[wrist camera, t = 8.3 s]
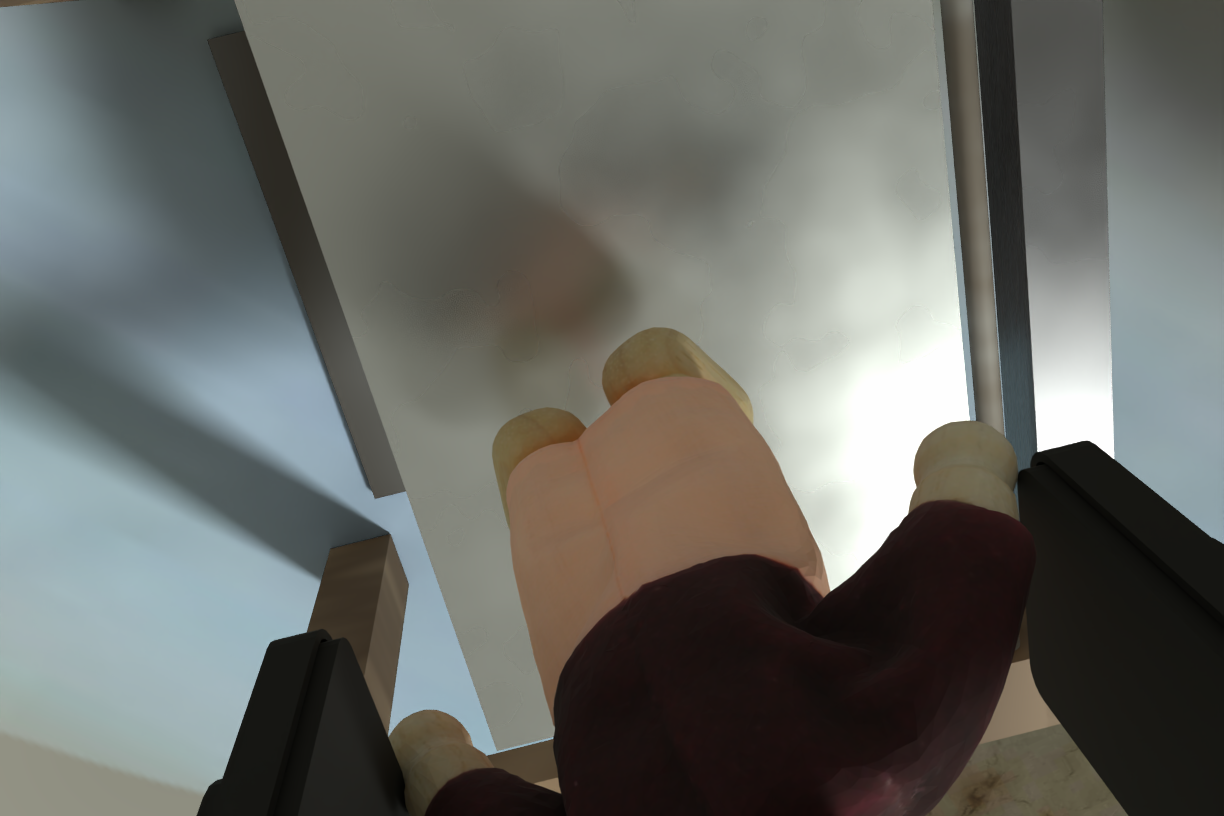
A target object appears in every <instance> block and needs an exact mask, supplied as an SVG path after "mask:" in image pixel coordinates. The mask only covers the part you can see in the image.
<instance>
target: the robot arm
mask: <svg viewBox="0 0 1224 816" xmlns="http://www.w3.org/2000/svg"><path fill="white" fill-rule="evenodd" d="M1017 489H1018V504H1019V518H1020V522H1021V523H1022V524H1023V525H1024V526H1025V527H1026V528H1027V529H1028V531H1029V532H1030V533H1031V534H1032V536H1033V539H1034V543H1035V548H1036V552H1037V556H1036V564H1035V570H1034V573H1033V576H1032V580H1031V585H1030V590H1029V596H1028V600H1027V604H1026V617H1027V631H1028V645H1029V659H1030V668H1031V673H1032V676H1033V680H1034V682H1035V685H1036V688H1037V690H1038V692H1039V694H1040V695H1041V697H1042V699H1043V700H1044V702H1045V703H1046V704H1047V706H1048V707H1049V708H1050V710H1051V711H1052V713H1053V714H1054V715H1055V717H1056V718H1057V719H1058V721H1059V722H1060V723H1061V725H1062V726H1063V728H1064V729H1065V730H1066V732H1067V733H1068V734H1069V736H1070V737H1071V738H1072V740H1073V741H1074V742H1075V744H1076V745H1077V747H1078V748H1079V749H1080V751H1081V752H1082V753H1083V755H1084V756H1085V757H1086V759H1087V760H1088V761H1089V763H1090V764H1091V766H1092V767H1093V768H1094V770H1095V771H1096V772H1097V774H1098V775H1099V776H1100V778H1101V779H1102V781H1103V782H1104V783H1105V785H1106V786H1107V787H1108V789H1109V790H1110V791H1111V793H1112V794H1113V795H1114V797H1115V798H1116V800H1117V801H1118V802H1119V804H1120V805H1121V806H1122V808H1123V809H1124V810H1125V812H1126V813H1127V815H1128V816H1224V544H1223V543H1221V542H1219V541H1217V540H1216V539H1214V538H1211V537H1210V536H1209V535H1207V534H1206V533H1205V532H1204V531H1202V530H1201V529H1200V528H1199V527H1197V526H1196V525H1195V524H1194V523H1193V522H1191V521H1190V520H1189V519H1188V518H1186V517H1185V516H1184V515H1183V514H1181V513H1180V512H1179V511H1178V510H1176V509H1175V508H1174V507H1173V506H1171V505H1170V504H1169V503H1168V502H1167V501H1165V500H1164V499H1163V498H1162V497H1160V496H1159V495H1158V494H1157V493H1155V492H1154V491H1153V490H1152V489H1150V488H1149V487H1148V486H1147V485H1146V484H1144V483H1143V482H1142V481H1141V480H1139V479H1138V478H1137V477H1136V476H1134V475H1133V474H1132V473H1131V472H1129V471H1128V470H1127V469H1126V468H1124V467H1123V466H1122V465H1121V464H1120V463H1118V462H1117V461H1116V460H1115V459H1113V458H1112V457H1111V456H1110V455H1108V454H1107V453H1106V452H1105V451H1103V450H1102V449H1101V448H1100V447H1098V446H1097V445H1096V444H1095V443H1093V442H1091V441H1089V440H1086V441H1080V442H1076V443H1072V444H1068V445H1064V446H1060V447H1055V448H1051V449H1047V450H1043V451H1039V452H1036V453H1035V454H1034V455H1033V456H1032V459H1031V462H1030V468H1026V469H1022V470H1020V471H1019V473H1018V480H1017ZM404 790H405V782H404V778H403V773H402V770H401V768H400V765H399V763H398V760H397V758H396V755H395V753H394V750H393V748H392V745H391V743H390V740H389V738H388V735H387V733H386V730H385V728H384V725H383V723H382V720H381V718H380V715H379V713H378V710H377V708H376V706H375V703H374V701H373V698H372V696H371V693H370V691H369V688H368V686H367V683H366V681H365V678H364V676H363V673H362V671H361V668H360V666H359V663H358V661H357V658H356V656H355V653H354V651H353V649H352V646H351V644H350V642H349V641H348V640H347V639H346V638H344V637H342V638H338V639H334V640H333V639H332V637H331V636H330V634H329V633H328V632H327V631H326V630H324V629H319V630H315V631H311V632H307V633H303V634H299V635H294V636H290V637H286V638H282V639H278V640H274V641H272V642H270V644H269V646H268V648H267V650H266V653H265V656H264V659H263V662H262V665H261V668H260V671H259V674H258V677H257V680H256V682H255V685H254V688H253V691H252V694H251V697H250V700H249V703H248V706H247V709H246V712H245V715H244V718H243V720H242V723H241V726H240V729H239V732H238V735H237V738H236V741H235V744H234V747H233V750H232V753H231V755H230V758H229V761H228V764H227V767H226V770H225V773H224V776H223V779H220V780H217V781H215V782H214V783H213V784H211V785H210V786H209V787H208V789H207V791H206V793H205V795H204V797H203V799H202V802H201V805H200V808H199V811H198V814H197V816H410V815H409V812H408V810H407V807H406V805H405V795H404Z"/></svg>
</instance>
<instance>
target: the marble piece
mask: <svg viewBox="0 0 1224 816" xmlns="http://www.w3.org/2000/svg"><path fill="white" fill-rule="evenodd" d="M925 816H1128V815H1127V813H1126V812H1125V810H1124V809H1123V808H1122V806H1121V805H1120V804H1119V802H1118V801H1117V800H1116V798H1115V797H1114V795H1113V794H1112V793H1111V791H1110V790H1109V789H1108V787H1107V786H1106V785H1105V783H1104V782H1103V781H1102V779H1101V778H1100V776H1099V775H1098V774H1097V772H1096V771H1095V770H1094V768H1093V767H1092V766H1091V764H1090V763H1089V761H1088V760H1087V759H1086V757H1085V756H1084V755H1083V753H1082V752H1081V751H1080V749H1079V748H1078V747H1077V745H1076V744H1075V742H1074V741H1073V740H1072V738H1071V737H1070V736H1069V734H1068V733H1067V732H1066V730H1065V729H1064V728H1063V726H1062V725H1061V724H1058V725H1054V726H1050V727H1046V728H1042V729H1038V730H1034V731H1030V732H1026V733H1022V734H1018V735H1014V736H1010V737H1007V738H1003V739H999V740H995V741H991V742H987V743H983V744H979V745H978V746H977V748H976V750H975V751H974V753H973V755H972V756H971V758H970V760H969V761H968V763H967V765H966V766H965V768H964V769H963V771H962V773H961V774H960V776H959V777H958V778H957V779H956V781H955V782H954V783H953V785H952V786H951V787H950V789H949V790H948V791H947V793H946V794H945V796H944V797H943V798H942V800H941V801H940V802H939V803H938V804H937V805H936V806H935V808H934V809H933V810H932V811H930V812H929V813H928V814H927V815H925Z"/></svg>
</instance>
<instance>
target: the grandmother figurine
mask: <svg viewBox="0 0 1224 816" xmlns="http://www.w3.org/2000/svg"><path fill="white" fill-rule="evenodd" d="M602 386H603V390H604V393H605V395H606V398H607V400H608V402H609V404H610V405H611V407H610V408H609V409H608V410H607V411H606V412H605V413H604V414H603V415H602V416H600V417H599V418H598V419H597V420H596V421H595V422H594V423H592V424H591V425H590V426H589V427H588V428H586V427H585V426H584V424H583V423H582V422H581V421H580V420H579V419H578V418H577V417H576V416H574V415H573V414H572V413H570V412H569V411H565V410H561V409H558V408H550V407H545V408H540V409H535V410H532V411H530V412H527V413H524V414H522V415H519V416H517V417H515V418H513V419H511V420H509V421H508V422H507V423H506V424H504V425H503V426H502V427H501V428H500V430H499V431H498V433H497V435H496V436H495V439H494V442H493V446H492V458H493V465H494V470H495V474H496V479H497V483H498V487H499V491H500V496H501V500H502V504H503V509H504V513H505V517H506V521H507V524H508V527H509V529H510V546H511V555H512V563H513V570H514V574H515V579H516V583H517V588H518V592H519V597H520V601H521V605H522V610H523V613H524V617H525V620H526V623H527V627H528V631H529V636H530V641H531V645H532V650H533V655H534V659H535V662H536V665H537V668H538V671H539V674H540V677H541V682H542V686H543V690H544V694H545V698H546V701H547V704H548V708H549V711H550V714H551V718H552V722H553V725H554V727H555V732H554V738H553V739H554V742H553V751H554V757H555V761H556V765H557V772H558V781H559V787H560V791H561V794H560V793H558V792H555V791H553V790H550V789H547V788H545V787H542V786H539V785H536V784H533V783H530V782H527V781H525V780H524V779H522V778H520V777H519V776H517V775H514V774H510V773H509V772H507V771H506V770H504V769H500V768H494V766H493V765H492V763H491V762H490V760H489V759H488V758H487V756H486V755H485V754H484V753H482V752H481V751H479V750H478V749H476V748H474V747H473V745H472V741H471V738H470V735H469V733H468V732H467V731H466V729H465V728H464V726H463V725H462V724H461V723H460V722H459V721H458V720H457V719H455V718H454V717H452V716H450V715H449V714H447V713H444V712H441V711H438V710H423V711H419V712H416V713H413V714H411V715H409V716H408V717H406V718H404V719H403V720H402V721H401V722H400V723H399V724H398V725H397V726H396V727H395V728H394V730H393V731H392V733H391V734H390V736H389V737H388V738H389V740H390V743H391V745H392V748H393V750H394V753H395V755H396V758H397V760H398V763H399V765H400V768H401V770H402V773H403V778H404V782H405V790H404V795H405V805H406V807H407V810H408V812H409V815H410V816H925V815H927V814H928V813H929V812H930V811H932V810H933V809H934V808H935V806H936V805H937V804H938V803H939V802H940V801H941V800H942V798H943V797H944V796H945V794H946V793H947V791H948V790H949V789H950V787H951V786H952V785H953V783H954V782H955V781H956V779H957V778H958V777H959V776H960V774H961V773H962V771H963V769H964V768H965V766H966V765H967V763H968V761H969V760H970V758H971V756H972V755H973V753H974V751H975V750H976V748H977V746H978V744H979V743H980V741H981V739H982V737H983V735H984V733H985V731H986V729H987V727H988V725H989V723H990V721H991V719H992V716H993V714H994V711H995V709H996V707H997V704H998V702H999V699H1000V697H1001V694H1002V692H1003V689H1004V686H1005V683H1006V679H1007V676H1008V673H1009V670H1010V666H1011V663H1012V660H1013V656H1014V652H1015V648H1016V644H1017V640H1018V637H1019V632H1020V628H1021V623H1022V619H1023V615H1024V610H1025V607H1026V604H1027V600H1028V596H1029V590H1030V585H1031V580H1032V576H1033V573H1034V570H1035V564H1036V556H1037V552H1036V548H1035V543H1034V539H1033V536H1032V534H1031V533H1030V532H1029V531H1028V529H1027V528H1026V527H1025V526H1024V525H1023V524H1022V523H1021V522H1020V521H1019V512H1018V507H1017V502H1016V497H1015V494H1014V493H1013V492H1014V489H1015V486H1016V483H1017V480H1018V464H1017V456H1016V454H1015V452H1014V449H1013V447H1012V445H1011V444H1010V442H1009V441H1008V440H1007V439H1006V438H1005V437H1004V435H1003V434H1001V433H1000V432H998V431H997V430H996V429H994V428H993V427H991V426H989V425H987V424H985V423H982V422H978V421H970V420H964V421H955V422H949V423H946V424H944V425H942V426H940V427H938V428H936V429H935V430H933V431H932V432H931V433H929V434H928V435H927V436H926V437H925V438H924V439H923V440H922V442H921V444H920V446H919V448H918V450H917V452H916V454H915V458H914V466H913V475H914V481H915V484H916V487H917V488H916V489H915V490H914V492H913V494H912V497H911V500H910V504H909V509H908V515H907V516H905V517H904V518H903V520H902V521H901V523H900V524H899V526H898V527H896V528H895V529H894V530H893V531H891V532H890V534H889V535H888V537H887V538H886V540H885V541H884V543H883V544H882V546H881V547H880V548H879V549H878V550H877V551H876V552H875V554H874V555H872V556H871V557H870V558H869V559H868V560H867V561H866V562H865V563H864V564H863V565H862V566H861V567H860V568H859V569H858V570H857V571H856V572H855V573H854V574H853V575H852V576H851V577H849V578H848V579H847V580H846V581H844V582H843V583H842V584H840V585H839V586H838V587H836V588H835V589H833V590H832V591H830V587H829V582H828V577H827V574H826V570H825V566H824V562H823V558H822V554H821V551H820V549H819V547H818V545H817V543H816V541H815V539H814V537H813V535H812V533H811V531H810V529H809V526H808V523H807V521H806V519H805V517H804V515H803V513H802V511H801V509H800V507H799V505H798V503H797V501H796V500H795V498H794V496H793V494H792V492H791V490H790V488H789V486H788V484H787V482H786V480H785V478H784V475H783V473H782V470H781V468H780V465H779V463H778V461H777V459H776V458H775V456H774V454H773V452H772V451H771V449H770V447H769V446H768V444H767V443H766V441H765V440H764V438H763V437H762V436H761V434H760V433H759V432H758V430H757V429H756V428H755V426H754V425H753V408H752V404H751V402H750V399H749V396H748V395H747V394H746V392H745V391H744V389H743V388H742V387H741V386H740V385H739V384H738V383H737V382H736V381H735V380H734V379H733V378H732V377H731V376H730V375H729V374H728V373H727V372H726V371H725V370H724V369H722V368H721V367H720V366H719V365H718V364H717V363H716V362H715V361H713V360H712V359H711V358H710V357H709V356H708V355H707V354H706V353H705V352H704V351H703V350H702V349H701V348H700V347H699V346H697V345H696V344H695V343H694V342H693V341H692V340H691V339H690V338H688V337H687V336H686V335H684V334H683V333H681V332H678V331H676V330H674V329H670V328H664V327H653V328H649V329H646V330H643V331H641V332H638V333H637V334H635V335H634V336H632V337H631V338H629V339H628V340H626V341H625V342H624V343H623V344H621V345H620V346H619V347H618V348H617V349H616V350H615V351H614V352H613V353H612V354H611V355H610V356H609V358H608V359H607V361H606V363H605V366H604V369H603V373H602Z"/></svg>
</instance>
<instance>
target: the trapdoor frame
mask: <svg viewBox="0 0 1224 816" xmlns="http://www.w3.org/2000/svg"><path fill="white" fill-rule="evenodd" d="M66 1H77V0H0V7H8V6H20V5H31V4H43V3H54V2H66ZM940 4H941V16H942V27H943V39H944V51H945V62H946V74H947V86H948V97H949V109H950V120H951V132H952V144H953V155H954V167H955V179H956V190H957V202H958V214H959V225H960V237H961V249H962V260H963V272H964V284H965V295H966V307H967V318H968V330H969V342H970V353H971V365H972V377H973V388H974V400H975V412H976V421H978V422H982V423H985V424H987V425H989V426H991V427H993V428H994V429H996V430H997V431H998V432H1000V433H1001V434H1003V435H1004V421H1003V408H1002V394H1001V381H1000V367H999V354H998V340H997V327H996V313H995V299H994V286H993V272H992V259H991V245H990V232H989V218H988V205H987V191H986V178H985V164H984V150H983V137H982V123H981V110H980V96H979V83H978V69H977V56H976V42H975V28H974V15H973V1H972V0H940ZM207 41H208V44H209V46H210V49H211V52H212V55H213V57H214V60H215V63H216V66H217V68H218V71H219V74H220V77H221V79H222V82H223V85H224V87H225V90H226V93H227V96H228V98H229V101H230V104H231V107H232V109H233V112H234V115H235V118H236V120H237V123H238V126H239V128H240V131H241V134H242V137H243V139H244V142H245V145H246V148H247V150H248V153H249V156H250V159H251V161H252V164H253V167H254V169H255V172H256V175H257V178H258V180H259V183H260V186H261V189H262V191H263V194H264V197H265V200H266V202H267V205H268V208H269V211H270V213H271V216H272V219H273V221H274V224H275V227H276V230H277V232H278V235H279V238H280V241H281V243H282V246H283V249H284V252H285V254H286V257H287V260H288V262H289V265H290V268H291V271H292V273H293V276H294V279H295V282H296V284H297V287H298V290H299V293H300V295H301V298H302V301H303V303H304V306H305V309H306V312H307V314H308V317H309V320H310V323H311V325H312V328H313V331H314V334H315V336H316V339H317V342H318V344H319V347H320V350H321V353H322V355H323V358H324V361H325V364H326V366H327V369H328V372H329V375H330V377H331V380H332V383H333V385H334V388H335V391H336V394H337V396H338V399H339V402H340V405H341V407H342V410H343V413H344V416H345V418H346V421H347V424H348V426H349V429H350V432H351V435H352V437H353V440H354V443H355V446H356V448H357V451H358V454H359V457H360V459H361V462H362V465H363V467H364V470H365V473H366V476H367V478H368V481H369V484H370V487H371V489H372V492H373V495H374V498H375V499H376V498H380V497H384V496H388V495H392V494H396V493H400V492H404V491H406V490H405V487H404V484H403V481H402V478H401V475H400V472H399V470H398V467H397V464H396V461H395V458H394V455H393V452H392V450H391V447H390V444H389V441H388V438H387V435H386V432H385V430H384V427H383V424H382V421H381V418H380V415H379V412H378V410H377V407H376V404H375V401H374V398H373V395H372V392H371V390H370V387H369V384H368V381H367V378H366V375H365V372H364V370H363V367H362V364H361V361H360V358H359V355H358V352H357V350H356V347H355V344H354V341H353V338H352V335H351V332H350V330H349V327H348V324H347V321H346V318H345V315H344V313H343V310H342V307H341V304H340V301H339V298H338V295H337V293H336V290H335V287H334V284H333V281H332V278H331V275H330V273H329V270H328V267H327V264H326V261H325V258H324V255H323V253H322V250H321V247H320V244H319V241H318V238H317V235H316V233H315V230H314V227H313V224H312V221H311V218H310V215H309V213H308V210H307V207H306V204H305V201H304V198H303V195H302V193H301V190H300V187H299V184H298V181H297V178H296V175H295V173H294V170H293V167H292V164H291V161H290V158H289V155H288V153H287V150H286V147H285V144H284V141H283V138H282V135H281V133H280V130H279V127H278V124H277V121H276V118H275V115H274V113H273V110H272V107H271V104H270V101H269V98H268V96H267V93H266V90H265V87H264V84H263V81H262V78H261V76H260V73H259V70H258V67H257V64H256V61H255V58H254V56H253V53H252V50H251V47H250V44H249V41H248V38H247V36H246V33H245V31H241V32H237V33H233V34H229V35H225V36H221V37H217V38H213V39H209V40H207ZM1004 437H1005V435H1004ZM408 587H409V584H408V581H407V578H406V575H405V573H404V570H403V567H402V564H401V562H400V559H399V556H398V553H397V551H396V548H395V545H394V542H393V540H392V537H391V534H388V535H384V536H380V537H376V538H372V539H368V540H364V541H360V542H356V543H352V544H348V545H344V546H340V547H336V548H332V549H330V552H329V555H328V559H327V562H326V566H325V570H324V573H323V577H322V580H321V584H320V587H319V591H318V594H317V598H316V601H315V605H314V609H313V612H312V616H311V619H310V623H309V626H308V630H307V632H311V631H315V630H319V629H324V630H326V631H327V632H328V633H329V634H330V636H331V637H332V639H333V640H334V639H338V638H342V637H344V638H346V639H347V640H348V641H349V642H350V644H351V646H352V649H353V651H354V653H355V656H356V658H357V661H358V663H359V666H360V668H361V671H362V673H363V676H364V678H365V681H366V683H367V686H368V688H369V691H370V693H371V696H372V698H373V701H374V703H375V706H376V708H377V710H378V713H379V715H380V718H381V720H382V723H383V725H384V728H385V730H386V733H387V735H388V731H389V724H390V717H391V709H392V702H393V695H394V688H395V681H396V674H397V666H398V659H399V652H400V645H401V638H402V630H403V623H404V616H405V609H406V602H407V594H408ZM1058 724H1061V723H1060V722H1059V721H1058V719H1057V718H1056V717H1055V715H1054V714H1053V713H1052V711H1051V710H1050V708H1049V707H1048V706H1047V704H1046V703H1045V702H1044V700H1043V699H1042V697H1041V695H1040V694H1039V692H1038V690H1037V688H1036V685H1035V682H1034V680H1033V676H1032V673H1031V668H1030V659H1029V645H1028V631H1027V617H1026V607H1025V610H1024V615H1023V619H1022V623H1021V628H1020V632H1019V637H1018V640H1017V644H1016V648H1015V652H1014V656H1013V660H1012V663H1011V666H1010V670H1009V673H1008V676H1007V679H1006V683H1005V686H1004V689H1003V692H1002V694H1001V697H1000V699H999V702H998V704H997V707H996V709H995V711H994V714H993V716H992V719H991V721H990V723H989V725H988V727H987V729H986V731H985V733H984V735H983V737H982V739H981V741H980V743H979V744H983V743H987V742H991V741H995V740H999V739H1003V738H1007V737H1010V736H1014V735H1018V734H1022V733H1026V732H1030V731H1034V730H1038V729H1042V728H1046V727H1050V726H1054V725H1058ZM553 742H554V739H552V740H548V741H544V742H540V743H536V744H532V745H528V746H524V747H520V748H516V749H512V750H508V751H504V752H500V753H496V754H492V755H488V756H487V758H488V759H489V760H490V762H491V763H492V765H493V766H494V768H500V769H504V770H506V771H507V772H509V773H510V774H514V775H517V776H519V777H520V778H522V779H524V780H525V781H527V782H530V783H533V784H536V785H539V786H542V787H545V788H547V789H550V790H553V791H555V792H558V793H560V794H561V791H560V787H559V781H558V772H557V765H556V761H555V757H554V751H553ZM979 744H978V745H979Z"/></svg>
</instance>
